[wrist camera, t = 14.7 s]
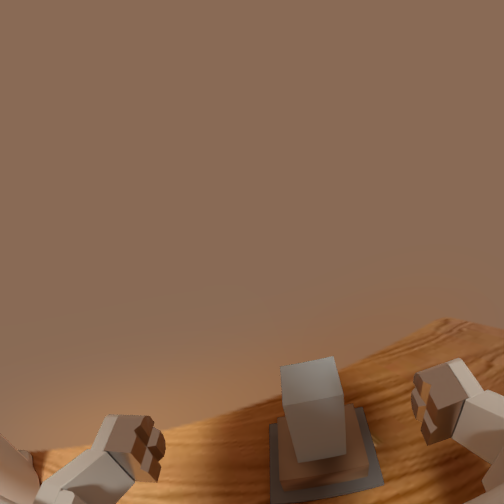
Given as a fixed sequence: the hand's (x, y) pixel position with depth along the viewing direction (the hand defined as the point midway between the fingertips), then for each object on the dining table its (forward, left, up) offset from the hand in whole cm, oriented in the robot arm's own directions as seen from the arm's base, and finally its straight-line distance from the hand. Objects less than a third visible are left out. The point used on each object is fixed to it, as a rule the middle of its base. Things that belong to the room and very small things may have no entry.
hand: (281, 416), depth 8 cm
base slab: (+1, +14, -26) cm, 29 cm away
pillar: (+1, +14, -23) cm, 27 cm away
